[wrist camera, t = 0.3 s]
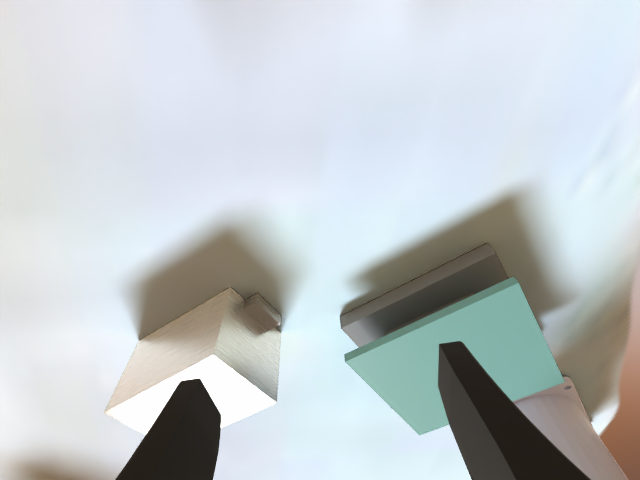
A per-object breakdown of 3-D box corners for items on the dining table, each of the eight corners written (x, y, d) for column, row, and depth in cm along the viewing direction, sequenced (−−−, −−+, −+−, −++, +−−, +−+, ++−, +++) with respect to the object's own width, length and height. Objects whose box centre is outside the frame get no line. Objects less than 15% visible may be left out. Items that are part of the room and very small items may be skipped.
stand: (534, 338, 25) (565, 382, 22) (407, 390, 28) (419, 435, 25) (487, 242, 21) (518, 282, 18) (339, 316, 23) (345, 361, 20)
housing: (293, 326, 24) (291, 396, 20) (183, 383, 26) (161, 454, 22) (243, 279, 21) (229, 347, 17) (128, 346, 24) (91, 419, 20)
